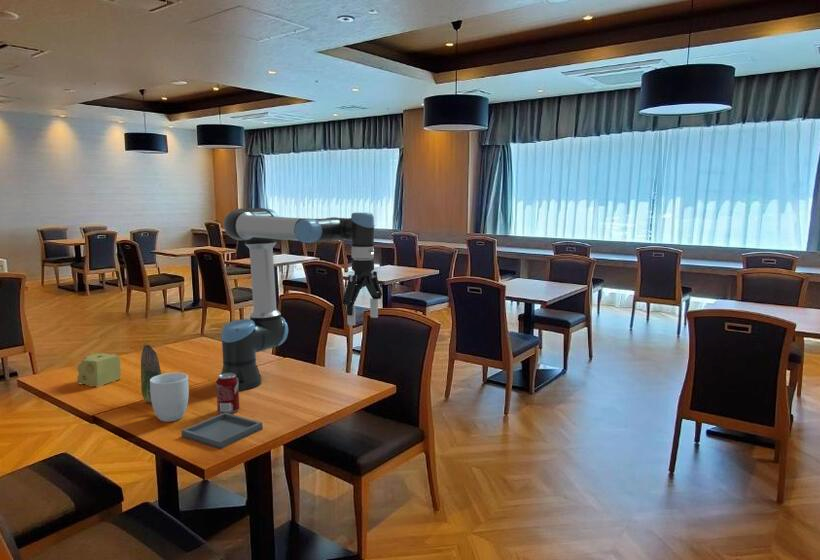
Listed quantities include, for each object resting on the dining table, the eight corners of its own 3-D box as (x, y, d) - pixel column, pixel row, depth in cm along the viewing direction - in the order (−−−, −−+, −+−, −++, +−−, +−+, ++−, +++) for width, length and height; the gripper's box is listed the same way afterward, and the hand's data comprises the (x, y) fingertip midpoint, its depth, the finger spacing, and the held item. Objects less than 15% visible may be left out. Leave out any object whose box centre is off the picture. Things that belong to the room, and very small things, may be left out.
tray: (181, 436, 163) (181, 430, 162) (225, 418, 176) (224, 412, 176) (220, 449, 155) (219, 442, 154) (262, 429, 168) (262, 422, 168)
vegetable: (142, 399, 193) (138, 342, 190) (162, 397, 195) (159, 341, 192) (142, 405, 187) (138, 347, 184) (162, 403, 190) (158, 345, 187)
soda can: (232, 415, 179) (231, 379, 177) (213, 414, 180) (211, 377, 178) (243, 408, 185) (241, 372, 184) (224, 406, 187) (222, 371, 185)
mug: (140, 415, 179) (137, 375, 177) (173, 406, 187) (171, 367, 185) (162, 427, 169) (160, 386, 167) (196, 417, 178) (194, 377, 176)
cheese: (77, 384, 208) (75, 358, 207) (102, 376, 218) (101, 351, 217) (97, 388, 204) (95, 361, 203) (122, 379, 214) (120, 354, 213)
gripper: (350, 263, 176) (350, 329, 179) (391, 256, 197) (391, 315, 201) (331, 261, 180) (331, 326, 183) (373, 255, 201) (373, 313, 204)
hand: (363, 321), depth 192 cm, fingers open, 13 cm apart
